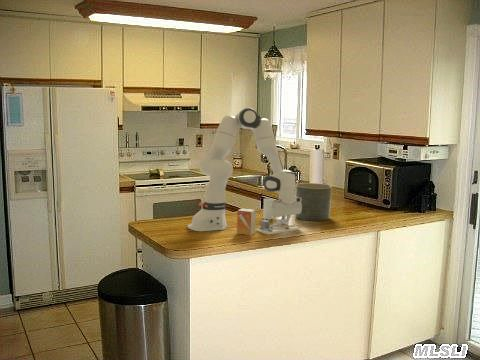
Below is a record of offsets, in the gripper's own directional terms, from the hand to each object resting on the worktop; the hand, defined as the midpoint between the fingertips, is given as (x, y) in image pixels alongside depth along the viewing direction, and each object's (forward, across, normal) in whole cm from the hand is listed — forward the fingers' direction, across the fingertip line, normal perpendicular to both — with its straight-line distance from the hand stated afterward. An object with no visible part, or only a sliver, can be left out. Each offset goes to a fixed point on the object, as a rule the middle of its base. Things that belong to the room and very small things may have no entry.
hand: (285, 222), depth 285 cm
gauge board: (+3, -7, -2) cm, 8 cm away
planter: (+3, +34, +14) cm, 37 cm away
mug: (+3, +8, +23) cm, 25 cm away
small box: (+3, -27, +2) cm, 27 cm away
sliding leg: (+2, -4, -2) cm, 5 cm away
